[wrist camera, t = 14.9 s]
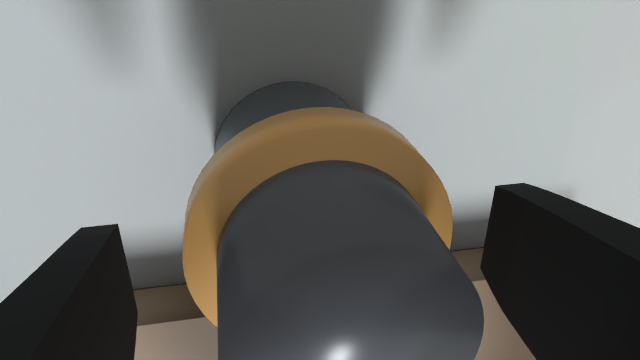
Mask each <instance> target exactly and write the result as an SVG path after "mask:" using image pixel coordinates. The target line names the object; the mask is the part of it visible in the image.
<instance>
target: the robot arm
mask: <svg viewBox="0 0 640 360" xmlns="http://www.w3.org/2000/svg"><path fill="white" fill-rule="evenodd" d="M480 269H481V271H482V273H483V275H484V277H485V279H486V281H487V283H488V285H489V287H490V289H491V291H492V293H493V295H494V297H495V299H496V301H497V302H498V304H499V306H500V308H501V310H502V311H503V313H504V314H505V316H506V317H507V319H508V320H509V322H510V323H511V325H512V326H513V327H514V329H515V330H516V332H517V333H518V335H519V336H520V337H521V339H522V340H523V342H524V343H525V345H526V346H527V347H528V349H529V350H530V352H531V353H532V354H533V356H534V357H535V359H536V360H640V228H638V227H635V226H633V225H630V224H628V223H626V222H623V221H621V220H618V219H616V218H613V217H611V216H609V215H606V214H604V213H601V212H599V211H597V210H594V209H592V208H589V207H587V206H585V205H582V204H580V203H577V202H575V201H572V200H570V199H568V198H565V197H563V196H560V195H557V194H555V193H552V192H550V191H547V190H544V189H541V188H538V187H535V186H532V185H529V184H525V183H519V184H509V185H499V186H495V191H494V197H493V202H492V207H491V212H490V218H489V223H488V228H487V233H486V239H485V244H484V249H483V255H482V260H481V265H480ZM137 320H138V310H137V306H136V301H135V297H134V293H133V288H132V284H131V279H130V275H129V271H128V266H127V262H126V258H125V253H124V249H123V245H122V240H121V236H120V231H119V227H118V224H113V225H104V226H94V227H84V228H80V229H79V230H78V231H77V232H76V233H75V234H73V235H72V236H71V237H70V238H69V239H68V240H67V241H66V242H65V243H64V244H63V245H62V246H61V247H60V248H58V249H57V250H56V251H55V252H54V253H53V254H52V255H51V256H50V257H49V258H48V259H47V260H46V261H45V262H44V263H43V264H42V265H41V266H40V267H39V268H38V269H37V270H36V271H34V272H33V273H32V274H31V275H30V276H29V277H28V278H27V279H26V280H25V281H24V282H23V283H22V284H20V285H19V286H18V287H17V288H16V289H15V290H14V291H13V292H12V293H11V294H10V295H9V296H8V297H7V298H5V299H4V300H3V301H2V302H1V303H0V360H134V356H135V345H136V333H137Z"/></svg>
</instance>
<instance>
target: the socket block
mask: <svg viewBox="0 0 640 360" xmlns="http://www.w3.org/2000/svg"><path fill="white" fill-rule="evenodd" d="M483 249H484V248H476V249H468V250H460V251H452V252H451V253H452V254H453V256H454V257H455V259H456V260H457V261H458V263H459V264H460V266H461V267H462V269H463V270H464V271H465V273H466V274H467V276H468V277H469V279H470V280H471V282H472V283H473V284H474V286H475V288H476V290H477V292H478V294H479V296H480V299H481V303H482V306H483V313H484V330H483V336H482V340H481V344H480V347H479V350H478V352H477V355H476V357H475V359H474V360H536V359H535V357H534V356H533V354H532V353H531V352H530V350H529V349H528V347H527V346H526V345H525V343H524V342H523V340H522V339H521V337H520V336H519V335H518V333H517V332H516V330H515V329H514V327H513V326H512V325H511V323H510V322H509V320H508V319H507V317H506V316H505V314H504V313H503V311H502V310H501V308H500V306H499V304H498V302H497V301H496V299H495V297H494V295H493V293H492V291H491V289H490V287H489V285H488V283H487V281H486V279H485V277H484V275H483V273H482V271H481V269H480V265H481V260H482V255H483ZM133 293H134V297H135V301H136V306H137V310H138V320H137V333H136V345H135V356H134V360H218V328H217V327H216V326H215V325H214V324H213V323H212V322H211V321H210V320H209V319H208V318H207V317H206V316H205V315H204V314H203V313H202V311H201V310H200V309H199V307H198V306H197V304H196V303H195V301H194V299H193V297H192V295H191V293H190V291H189V289H188V286H187V284H181V285H173V286H165V287H156V288H148V289H140V290H133Z"/></svg>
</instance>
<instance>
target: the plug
mask: <svg viewBox="0 0 640 360" xmlns="http://www.w3.org/2000/svg"><path fill="white" fill-rule="evenodd" d="M452 229H453V219H452V211H451V205H450V202H449V198H448V195H447V192H446V190H445V188H444V186H443V184H442V182H441V180H440V178H439V177H438V176H437V174H436V173H435V171H434V170H433V168H432V167H431V166H430V165H429V164H428V163H427V161H426V160H425V159H424V158H423V157H422V155H421V154H420V153H419V152H418V151H417V150H416V148H415V147H414V146H413V145H412V144H411V143H410V142H409V141H408V140H407V139H406V138H405V137H404V136H403V135H402V134H401V133H400V132H398V131H397V130H396V129H394V128H393V127H392V126H390V125H388V124H387V123H385V122H383V121H381V120H379V119H377V118H375V117H372V116H370V115H367V114H364V113H362V112H358V111H353V110H351V109H350V107H349V106H348V105H347V104H346V103H345V102H344V101H343V100H342V99H341V98H340V97H338V96H337V95H336V94H334V93H333V92H331V91H329V90H327V89H325V88H323V87H320V86H317V85H314V84H309V83H303V82H283V83H277V84H273V85H269V86H266V87H263V88H261V89H259V90H257V91H255V92H253V93H251V94H250V95H248V96H246V97H245V98H244V99H243V100H241V101H240V102H239V103H238V104H237V105H236V106H235V107H234V108H233V109H232V110H231V111H230V113H229V114H228V115H227V117H226V118H225V120H224V122H223V124H222V125H221V127H220V130H219V133H218V135H217V140H216V144H215V154H214V155H213V156H212V158H211V159H210V160H209V162H208V163H207V164H206V166H205V167H204V168H203V170H202V171H201V173H200V175H199V177H198V178H197V180H196V182H195V184H194V186H193V189H192V191H191V194H190V197H189V200H188V204H187V209H186V214H185V226H184V238H183V255H182V262H183V270H184V276H185V279H186V283H187V286H188V289H189V291H190V293H191V295H192V297H193V299H194V301H195V303H196V304H197V306H198V307H199V309H200V310H201V311H202V313H203V314H204V315H205V316H206V317H207V318H208V319H209V320H210V321H211V322H212V323H213V324H214V325H215V326H216V327H217V328H218V360H474V359H475V357H476V355H477V352H478V350H479V347H480V344H481V340H482V336H483V330H484V313H483V306H482V303H481V299H480V296H479V294H478V292H477V290H476V288H475V286H474V284H473V283H472V282H471V280H470V279H469V277H468V276H467V274H466V273H465V271H464V270H463V269H462V267H461V266H460V264H459V263H458V261H457V260H456V259H455V257H454V256H453V254H452V253H451V251H450V245H451V240H452Z"/></svg>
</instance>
